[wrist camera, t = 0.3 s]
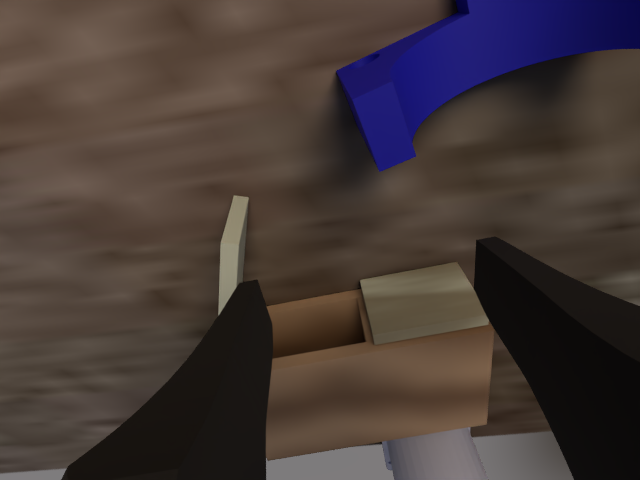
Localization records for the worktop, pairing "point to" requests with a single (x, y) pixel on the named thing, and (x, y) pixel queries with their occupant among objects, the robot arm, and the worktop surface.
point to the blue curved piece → (472, 60)
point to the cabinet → (378, 363)
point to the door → (233, 250)
